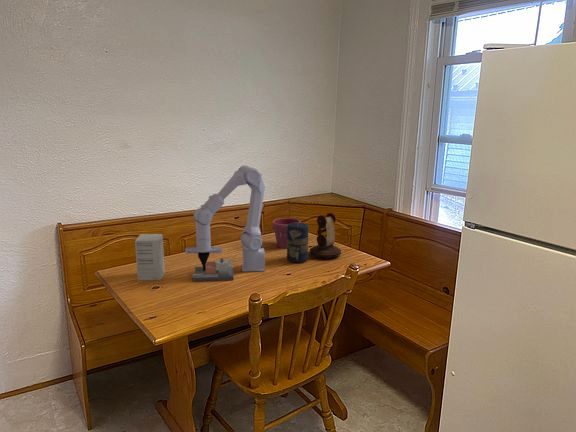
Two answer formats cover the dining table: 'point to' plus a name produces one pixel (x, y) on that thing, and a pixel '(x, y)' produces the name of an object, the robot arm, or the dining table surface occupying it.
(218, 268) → the housing
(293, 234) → the canister
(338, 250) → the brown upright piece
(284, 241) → the plant pot
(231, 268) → the press bed
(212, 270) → the tall terracotta prism
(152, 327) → the dining table surface
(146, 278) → the supplement box
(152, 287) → the dining table surface
